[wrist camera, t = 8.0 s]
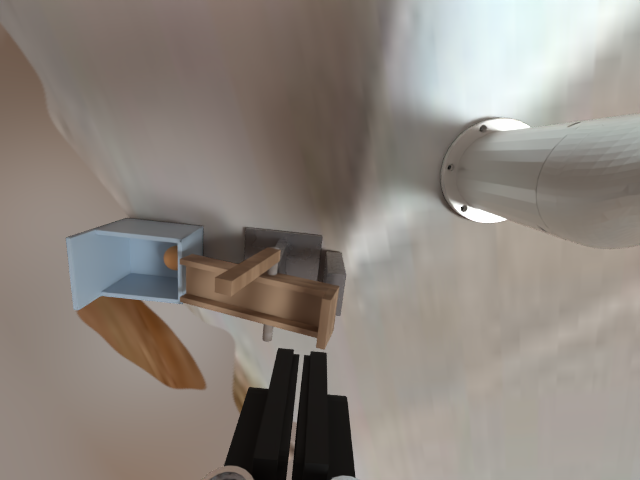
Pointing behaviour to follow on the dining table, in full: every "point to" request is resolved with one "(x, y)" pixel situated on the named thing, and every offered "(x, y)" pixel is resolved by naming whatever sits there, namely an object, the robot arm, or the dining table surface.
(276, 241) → the trestle
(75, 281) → the bin
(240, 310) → the lever
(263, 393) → the robot arm
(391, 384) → the dining table surface
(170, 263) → the ball
